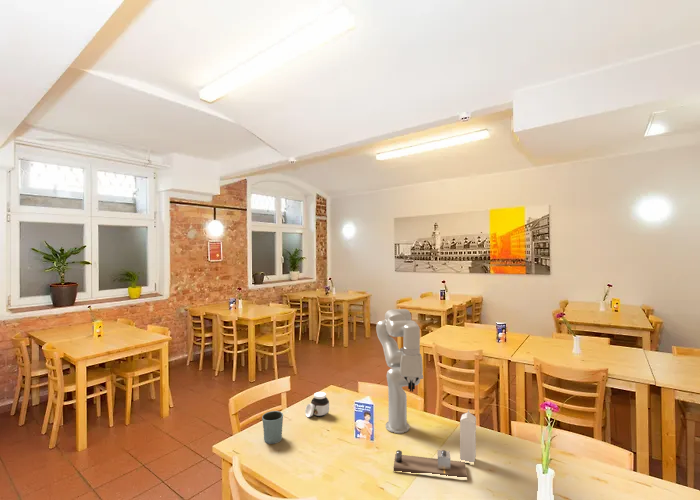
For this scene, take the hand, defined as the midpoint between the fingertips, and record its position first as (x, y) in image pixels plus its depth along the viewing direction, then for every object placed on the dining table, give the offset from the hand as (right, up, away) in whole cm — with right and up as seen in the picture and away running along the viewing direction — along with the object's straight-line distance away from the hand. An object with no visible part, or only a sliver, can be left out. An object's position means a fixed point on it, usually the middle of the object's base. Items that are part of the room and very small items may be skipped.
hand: (411, 390), depth 166 cm
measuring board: (+6, -29, -12) cm, 32 cm away
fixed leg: (-7, -27, -10) cm, 30 cm away
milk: (+24, -29, -6) cm, 38 cm away
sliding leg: (+11, -27, -13) cm, 32 cm away
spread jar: (-47, -29, +37) cm, 67 cm away
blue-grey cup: (-67, -29, +12) cm, 74 cm away
